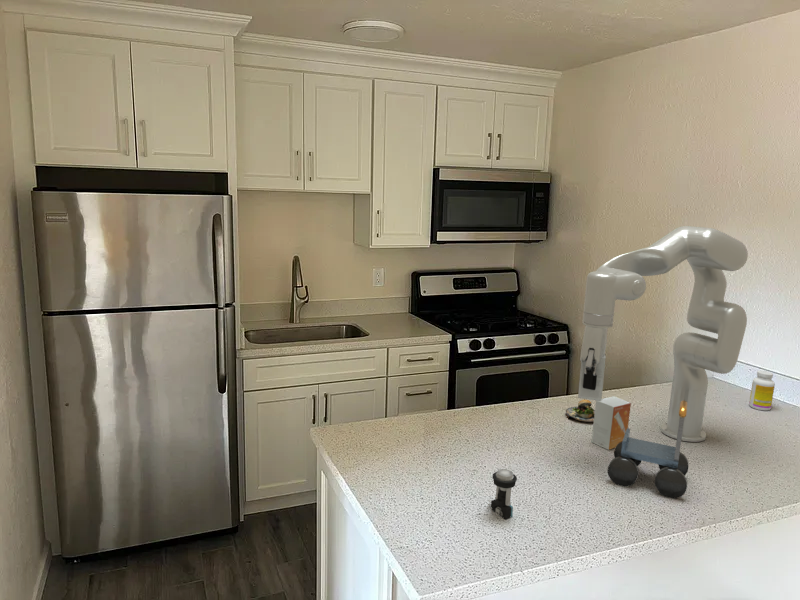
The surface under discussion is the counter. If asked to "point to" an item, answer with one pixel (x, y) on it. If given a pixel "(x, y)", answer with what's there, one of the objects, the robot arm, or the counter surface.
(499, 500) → the push button
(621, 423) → the small box
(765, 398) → the supplement bottle
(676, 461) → the trolley
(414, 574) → the counter surface
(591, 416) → the burger
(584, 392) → the skincare box
